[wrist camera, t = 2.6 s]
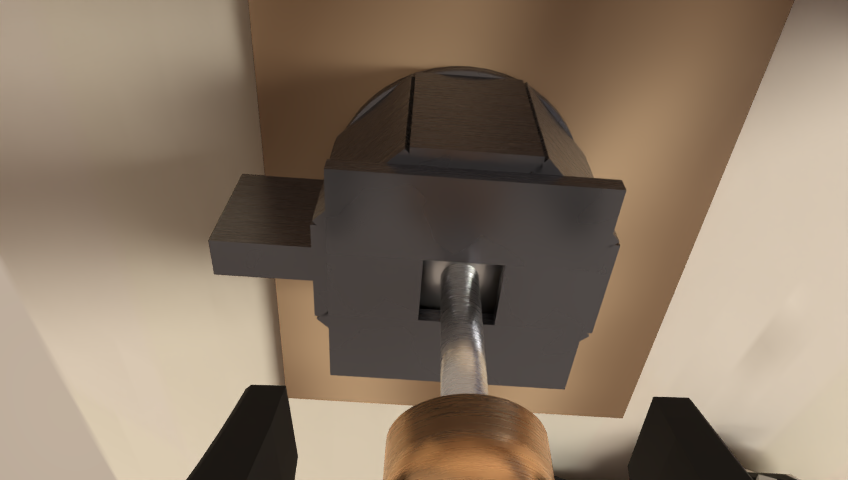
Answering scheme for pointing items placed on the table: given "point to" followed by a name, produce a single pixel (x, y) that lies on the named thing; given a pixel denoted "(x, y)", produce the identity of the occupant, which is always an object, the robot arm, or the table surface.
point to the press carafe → (438, 228)
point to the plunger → (465, 396)
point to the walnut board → (581, 110)
